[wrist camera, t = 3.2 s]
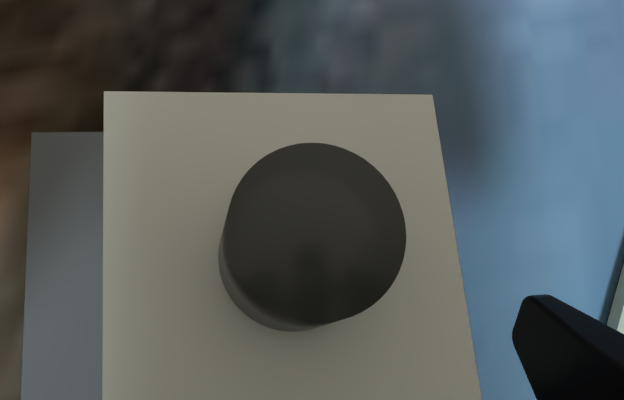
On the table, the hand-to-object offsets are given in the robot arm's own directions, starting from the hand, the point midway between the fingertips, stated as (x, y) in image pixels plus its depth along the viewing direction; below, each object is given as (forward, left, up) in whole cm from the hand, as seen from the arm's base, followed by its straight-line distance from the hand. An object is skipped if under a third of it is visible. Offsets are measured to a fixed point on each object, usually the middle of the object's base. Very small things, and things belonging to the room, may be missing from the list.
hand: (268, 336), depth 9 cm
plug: (0, +1, -8) cm, 9 cm away
